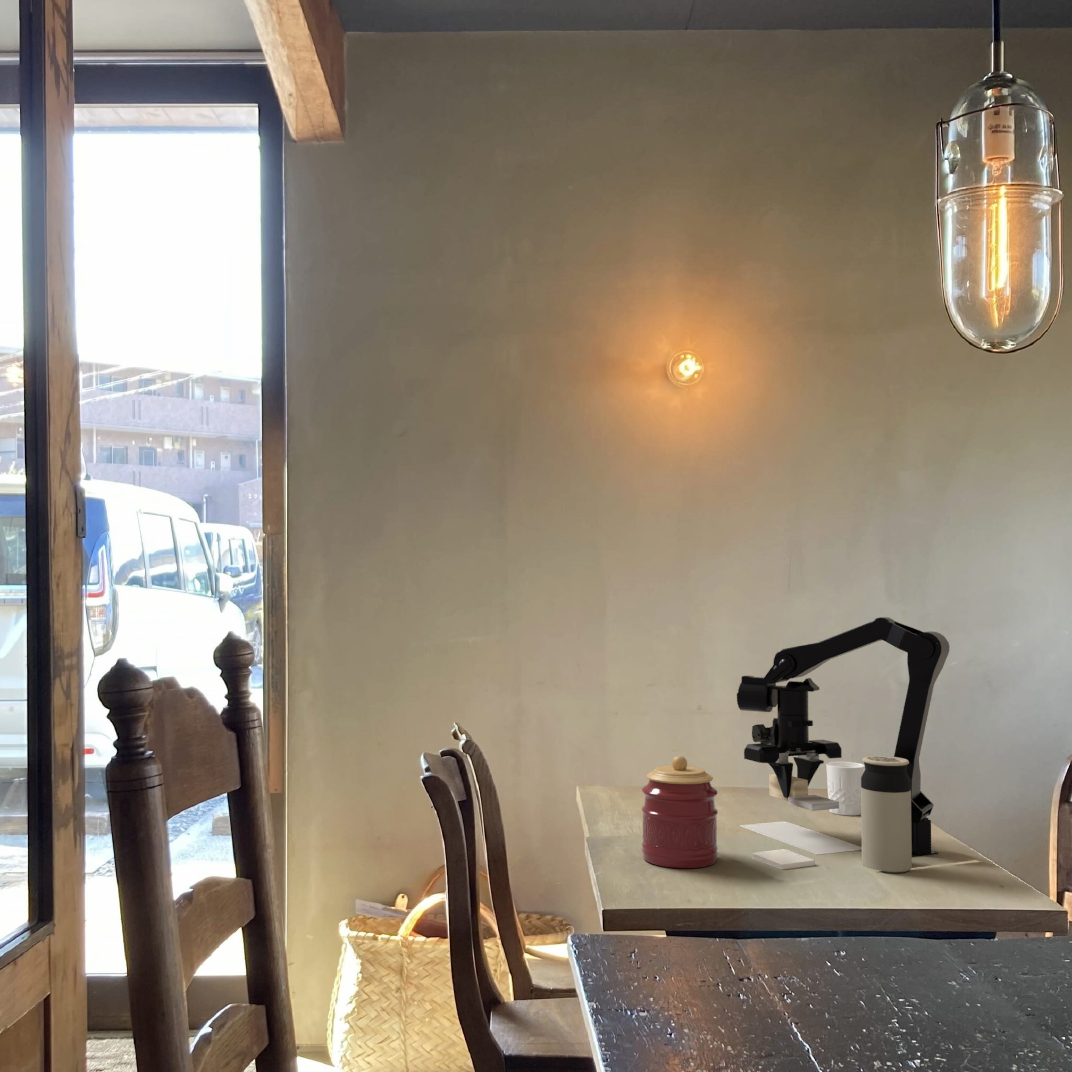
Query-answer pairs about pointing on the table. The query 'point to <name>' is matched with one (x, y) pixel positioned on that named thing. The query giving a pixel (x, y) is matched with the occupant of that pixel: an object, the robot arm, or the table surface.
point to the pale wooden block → (800, 795)
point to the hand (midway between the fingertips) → (793, 797)
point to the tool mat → (802, 837)
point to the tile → (783, 859)
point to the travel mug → (886, 814)
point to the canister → (679, 817)
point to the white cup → (845, 786)
